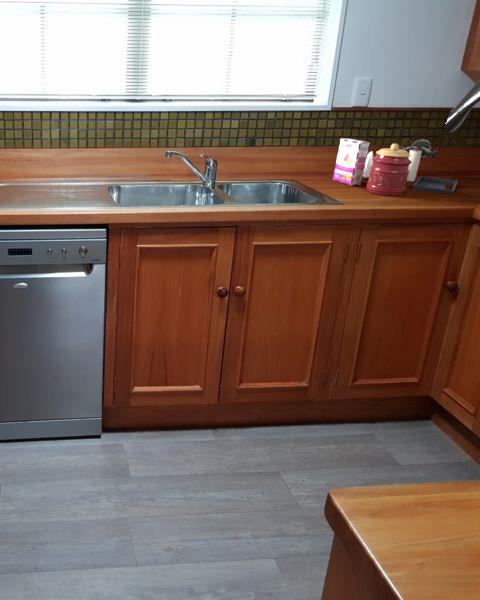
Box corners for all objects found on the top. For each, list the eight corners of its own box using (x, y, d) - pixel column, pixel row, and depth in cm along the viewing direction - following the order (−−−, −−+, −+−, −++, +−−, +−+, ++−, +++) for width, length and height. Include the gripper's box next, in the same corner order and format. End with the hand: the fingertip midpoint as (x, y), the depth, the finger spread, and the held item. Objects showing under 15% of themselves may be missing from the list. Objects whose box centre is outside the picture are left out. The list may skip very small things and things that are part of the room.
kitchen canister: (368, 186, 233) (378, 139, 226) (405, 191, 227) (416, 143, 220) (363, 193, 222) (373, 143, 216) (402, 198, 216) (414, 147, 210)
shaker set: (361, 180, 242) (367, 152, 238) (353, 178, 246) (359, 151, 242) (385, 179, 246) (391, 152, 242) (377, 177, 250) (383, 150, 245)
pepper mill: (415, 180, 246) (423, 147, 241) (413, 182, 243) (422, 148, 238) (403, 179, 248) (411, 146, 243) (401, 180, 245) (409, 147, 240)
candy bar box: (361, 185, 234) (371, 142, 228) (351, 186, 233) (360, 142, 226) (342, 179, 244) (350, 137, 237) (331, 180, 242) (340, 138, 236)
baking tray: (456, 185, 239) (458, 181, 239) (452, 195, 223) (453, 190, 222) (418, 180, 246) (419, 176, 245) (411, 190, 229) (412, 185, 229)
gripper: (403, 138, 254) (397, 142, 242) (441, 142, 247) (437, 146, 235) (399, 156, 257) (393, 161, 245) (436, 160, 250) (432, 166, 238)
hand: (414, 154), depth 240 cm, fingers open, 8 cm apart
